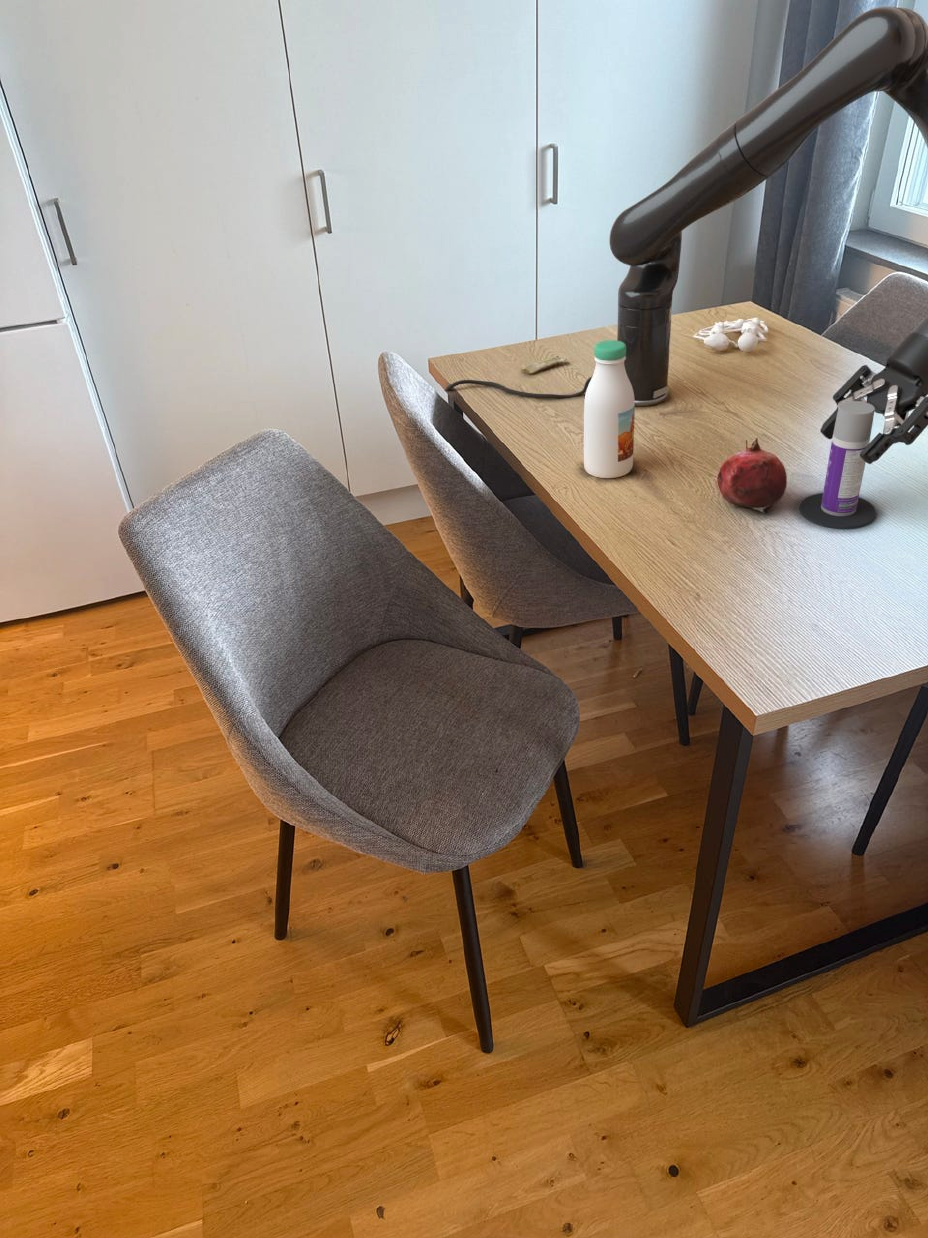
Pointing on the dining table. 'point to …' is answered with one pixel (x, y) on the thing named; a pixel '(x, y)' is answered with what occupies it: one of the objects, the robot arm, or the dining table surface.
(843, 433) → the container
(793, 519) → the dining table surface
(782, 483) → the fruit
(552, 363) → the snack bar
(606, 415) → the milk bottle
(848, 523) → the coaster
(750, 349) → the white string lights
